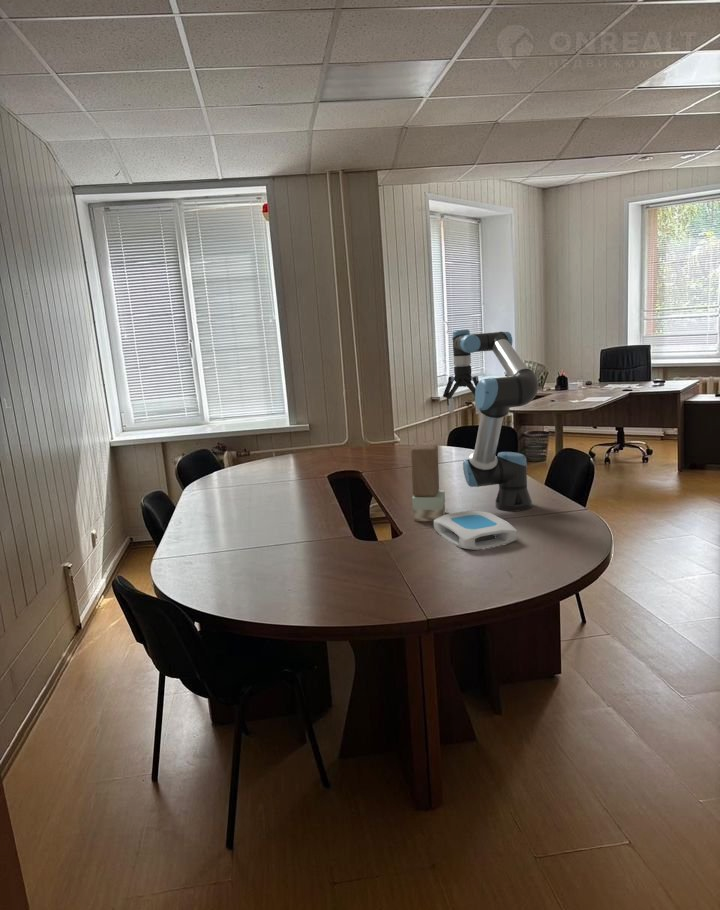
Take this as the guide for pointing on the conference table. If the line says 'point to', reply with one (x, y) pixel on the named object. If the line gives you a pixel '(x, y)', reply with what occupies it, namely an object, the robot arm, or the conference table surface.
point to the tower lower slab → (428, 514)
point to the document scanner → (474, 529)
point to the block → (425, 470)
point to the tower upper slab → (429, 501)
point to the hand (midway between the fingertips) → (464, 413)
